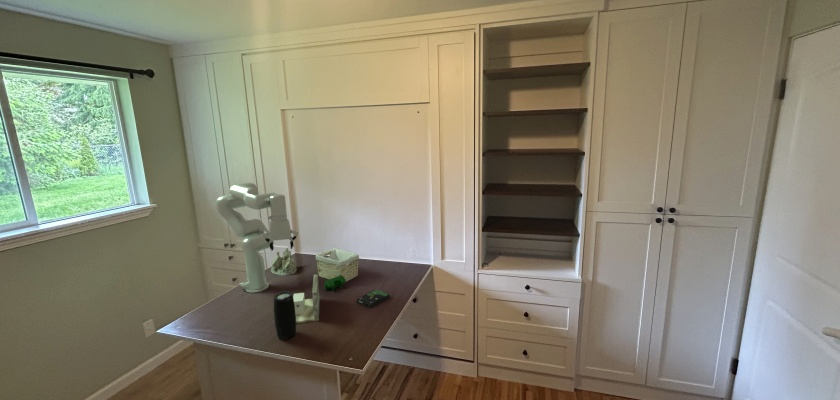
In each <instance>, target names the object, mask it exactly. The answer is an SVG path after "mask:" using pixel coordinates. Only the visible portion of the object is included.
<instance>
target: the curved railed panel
mask: <svg viewBox="0 0 840 400" xmlns="http://www.w3.org/2000/svg"><path fill="white" fill-rule="evenodd" d="M311 290H312V298H307V299H305V310H304V314H299V315H296V325H297V324H302V323H308V322H316V321H319V320H320V317H319V316H320V300H321V299H320V289H319V274H318V273H317V274H313V281H312V289H311Z"/></svg>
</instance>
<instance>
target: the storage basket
mask: <svg viewBox="0 0 840 400" xmlns="http://www.w3.org/2000/svg"><path fill="white" fill-rule="evenodd" d="M326 256H328V257H326ZM359 259H360V256H359V254H358V253H355V252H352V251H347V250H343V249H339V248H334V247H333V248H331V249H327V250H325V251H323V252H320V253H317V254H316V255H315V260H316V268H317V274H318V277H320V278H324V279H326V280H329V279H332V278H335V277H338V276H343V277H344V278H345V279H346V282H348V281H350V280H352V279H354V278H356V277H358V275H359Z"/></svg>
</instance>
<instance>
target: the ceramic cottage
mask: <svg viewBox="0 0 840 400" xmlns="http://www.w3.org/2000/svg"><path fill="white" fill-rule="evenodd" d="M291 251H292V250H289V249H288V247H285V249H284V251H282V257H281V255H280V251H276V255H275V258H273V261H272V262H271V268H270V272H272V273H271V274H273V273H274V274H275V275H279V276H288V275H294V274H295V273H296V272H297V270H298V269H297V266H296V265H295V259H294V258H292V252H291Z"/></svg>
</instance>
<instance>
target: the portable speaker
mask: <svg viewBox="0 0 840 400" xmlns="http://www.w3.org/2000/svg"><path fill="white" fill-rule="evenodd" d="M293 296H294V293H292V292H291V291H289V290H285V291H284V290H283V291H281V292H279V293H277V294H275V295H273V298H272V299H273V317H274V326H275V331H276V336H277V339H278V340H280V341H287V340H288V339H290V338H291V337H295V336H296V334H297V324H296V314H295V305H294V299H293Z"/></svg>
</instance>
